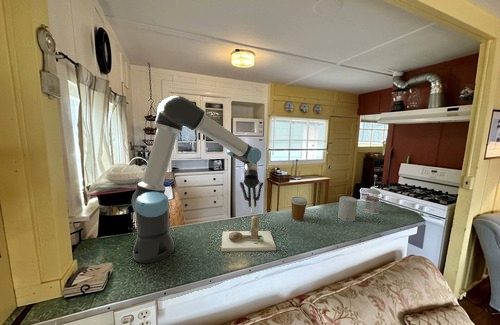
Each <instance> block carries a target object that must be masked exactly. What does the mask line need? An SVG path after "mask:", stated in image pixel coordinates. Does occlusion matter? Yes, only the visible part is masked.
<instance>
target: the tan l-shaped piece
mask: <svg viewBox="0 0 500 325" xmlns="http://www.w3.org/2000/svg"><path fill="white" fill-rule="evenodd" d="M259 224H260V217H259V216H257V215H253V216H252V217H251V226H250V231H251V235H242V234H241V233H239V232H232V233H230V234H229V239H230V240H231V241H240V240H241V239H260V237H262V236H258V231H259V226H260V225H259Z"/></svg>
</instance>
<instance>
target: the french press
mask: <svg viewBox="0 0 500 325" xmlns="http://www.w3.org/2000/svg"><path fill="white" fill-rule="evenodd" d="M373 177H374V179H376V178H378V175H377V174H374V175H373ZM373 182H374V184H373V186H375V184H376V181H373ZM366 192H367V193H368V194H372V195H367V196H366V198H365V203H364V208H363V209H362V210H364V211H365V212H364V211H363V212H364V213H366V212H367V213H366V214H368V213H371V214H370V215H373V214H378V213H379V214H380V211H379V207H380V206H381V204H382V203H381V202H380V201H382V198H381V196H380V194H381V191H380V190H378V189H376V188H369V189H366ZM374 195H375V196H374ZM376 195H378V196H376ZM379 214H378V215H379Z"/></svg>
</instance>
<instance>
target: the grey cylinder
mask: <svg viewBox="0 0 500 325" xmlns="http://www.w3.org/2000/svg"><path fill="white" fill-rule="evenodd" d="M357 205H358V199H357V198H355V197H353V196H347V195H342V196H341V195H340V196H339V202H338V211H337V219H339V218H340V219H341V221H343V220H344V222H347V221H348V222H347V223H352V222H353V221H354V222H355V221H356V214H357ZM340 219H339V220H340Z"/></svg>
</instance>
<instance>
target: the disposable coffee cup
mask: <svg viewBox="0 0 500 325" xmlns="http://www.w3.org/2000/svg"><path fill="white" fill-rule="evenodd" d="M290 202H291V217H292V220H294V221H297V222H301V221H303V220H304V218H305V217H304V216H305V214H306V213H305V212H306V209H307V205H308V200H307V198H305V197H302V196H293V197H291V199H290Z"/></svg>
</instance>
